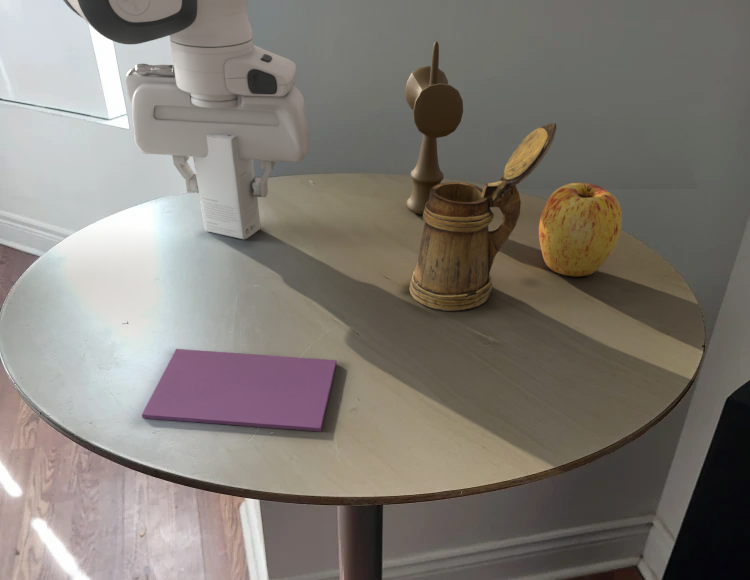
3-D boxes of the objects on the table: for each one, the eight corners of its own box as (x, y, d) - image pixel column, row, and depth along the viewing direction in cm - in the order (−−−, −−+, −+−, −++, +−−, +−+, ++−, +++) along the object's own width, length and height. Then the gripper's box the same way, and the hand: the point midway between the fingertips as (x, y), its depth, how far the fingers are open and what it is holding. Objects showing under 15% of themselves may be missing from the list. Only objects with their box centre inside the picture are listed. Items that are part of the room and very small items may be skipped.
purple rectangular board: (142, 418, 69) (141, 414, 69) (176, 352, 77) (175, 348, 77) (320, 431, 68) (320, 428, 68) (336, 363, 76) (336, 359, 76)
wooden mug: (536, 311, 85) (568, 138, 72) (413, 311, 84) (424, 136, 72) (521, 273, 91) (548, 109, 79) (406, 273, 90) (416, 107, 78)
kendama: (407, 226, 100) (417, 52, 87) (397, 196, 107) (405, 31, 94) (453, 225, 101) (470, 51, 87) (440, 195, 108) (454, 31, 94)
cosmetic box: (262, 228, 99) (254, 127, 90) (243, 242, 96) (233, 139, 87) (220, 219, 100) (209, 119, 92) (201, 232, 97) (187, 130, 89)
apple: (607, 257, 95) (628, 174, 88) (610, 292, 88) (632, 205, 82) (533, 250, 96) (547, 167, 89) (530, 283, 89) (545, 197, 83)
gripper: (112, 70, 83) (136, 198, 93) (300, 80, 82) (305, 208, 92) (131, 55, 88) (152, 178, 97) (309, 64, 87) (313, 188, 96)
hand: (228, 193), depth 95 cm, fingers closed on cosmetic box, 7 cm apart
